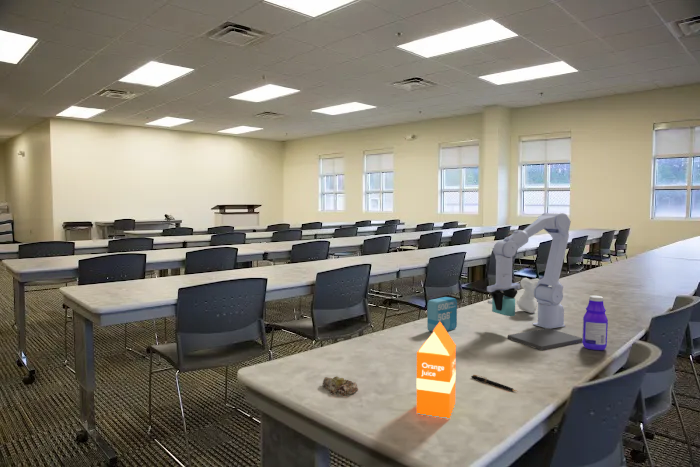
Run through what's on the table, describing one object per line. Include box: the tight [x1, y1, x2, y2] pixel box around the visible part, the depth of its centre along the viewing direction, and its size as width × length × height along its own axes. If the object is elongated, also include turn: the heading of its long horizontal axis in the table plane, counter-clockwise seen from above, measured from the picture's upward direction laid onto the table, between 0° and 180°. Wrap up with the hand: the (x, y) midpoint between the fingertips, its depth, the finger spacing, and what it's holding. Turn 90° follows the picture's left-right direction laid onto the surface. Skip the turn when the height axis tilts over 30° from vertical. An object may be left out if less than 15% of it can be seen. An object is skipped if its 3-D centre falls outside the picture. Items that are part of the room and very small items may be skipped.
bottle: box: [581, 294, 609, 351], centre depth 155 cm, size 7×6×17 cm
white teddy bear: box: [516, 277, 540, 314], centre depth 205 cm, size 10×11×15 cm
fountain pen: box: [470, 374, 520, 392], centre depth 125 cm, size 14×1×2 cm, turn 41°
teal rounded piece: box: [487, 296, 516, 317], centre depth 177 cm, size 4×12×6 cm, turn 26°
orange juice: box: [416, 322, 457, 419], centre depth 110 cm, size 8×9×20 cm
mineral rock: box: [322, 376, 359, 397], centre depth 123 cm, size 11×4×8 cm
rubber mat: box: [507, 328, 582, 351], centre depth 165 cm, size 20×15×1 cm
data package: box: [426, 296, 458, 333], centre depth 178 cm, size 12×4×12 cm, turn 129°
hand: (503, 309), depth 176 cm, fingers closed on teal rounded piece, 4 cm apart
